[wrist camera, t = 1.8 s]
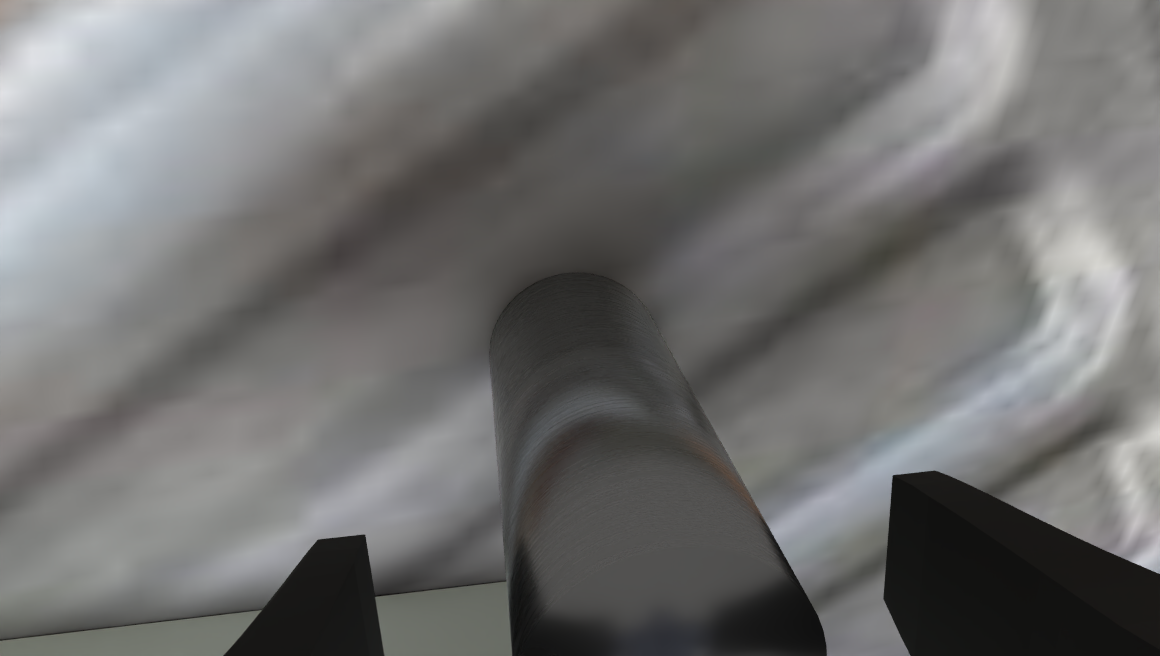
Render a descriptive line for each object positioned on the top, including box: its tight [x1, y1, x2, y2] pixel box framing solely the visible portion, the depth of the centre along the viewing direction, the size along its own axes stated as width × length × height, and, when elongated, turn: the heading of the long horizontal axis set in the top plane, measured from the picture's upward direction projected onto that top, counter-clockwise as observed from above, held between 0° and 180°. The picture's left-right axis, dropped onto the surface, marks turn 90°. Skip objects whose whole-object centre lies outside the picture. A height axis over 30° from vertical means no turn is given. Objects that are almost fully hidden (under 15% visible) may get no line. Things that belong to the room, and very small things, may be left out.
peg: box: [490, 273, 827, 656], centre depth 15 cm, size 4×4×10 cm
